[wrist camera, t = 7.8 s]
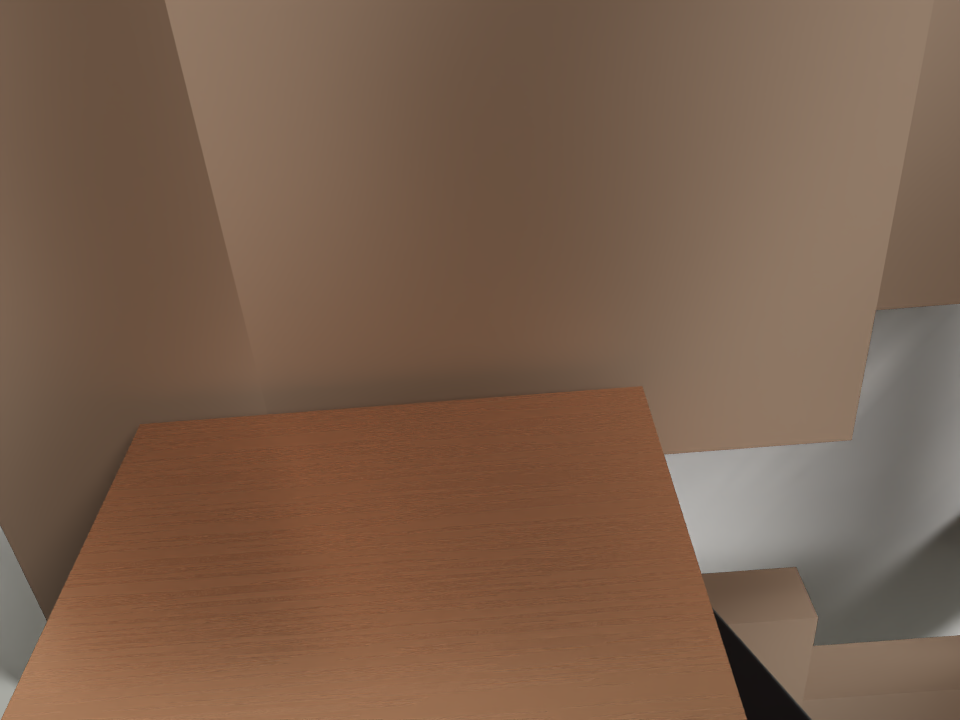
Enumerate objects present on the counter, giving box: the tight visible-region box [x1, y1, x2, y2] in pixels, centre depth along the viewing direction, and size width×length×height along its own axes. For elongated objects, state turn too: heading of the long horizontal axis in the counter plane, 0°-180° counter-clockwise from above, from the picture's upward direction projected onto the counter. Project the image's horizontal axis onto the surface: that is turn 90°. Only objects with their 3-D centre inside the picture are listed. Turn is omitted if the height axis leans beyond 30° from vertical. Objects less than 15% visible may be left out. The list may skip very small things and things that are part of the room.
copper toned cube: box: [1, 386, 747, 720], centre depth 9 cm, size 5×5×8 cm
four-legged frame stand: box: [0, 0, 960, 720], centre depth 12 cm, size 16×13×6 cm
